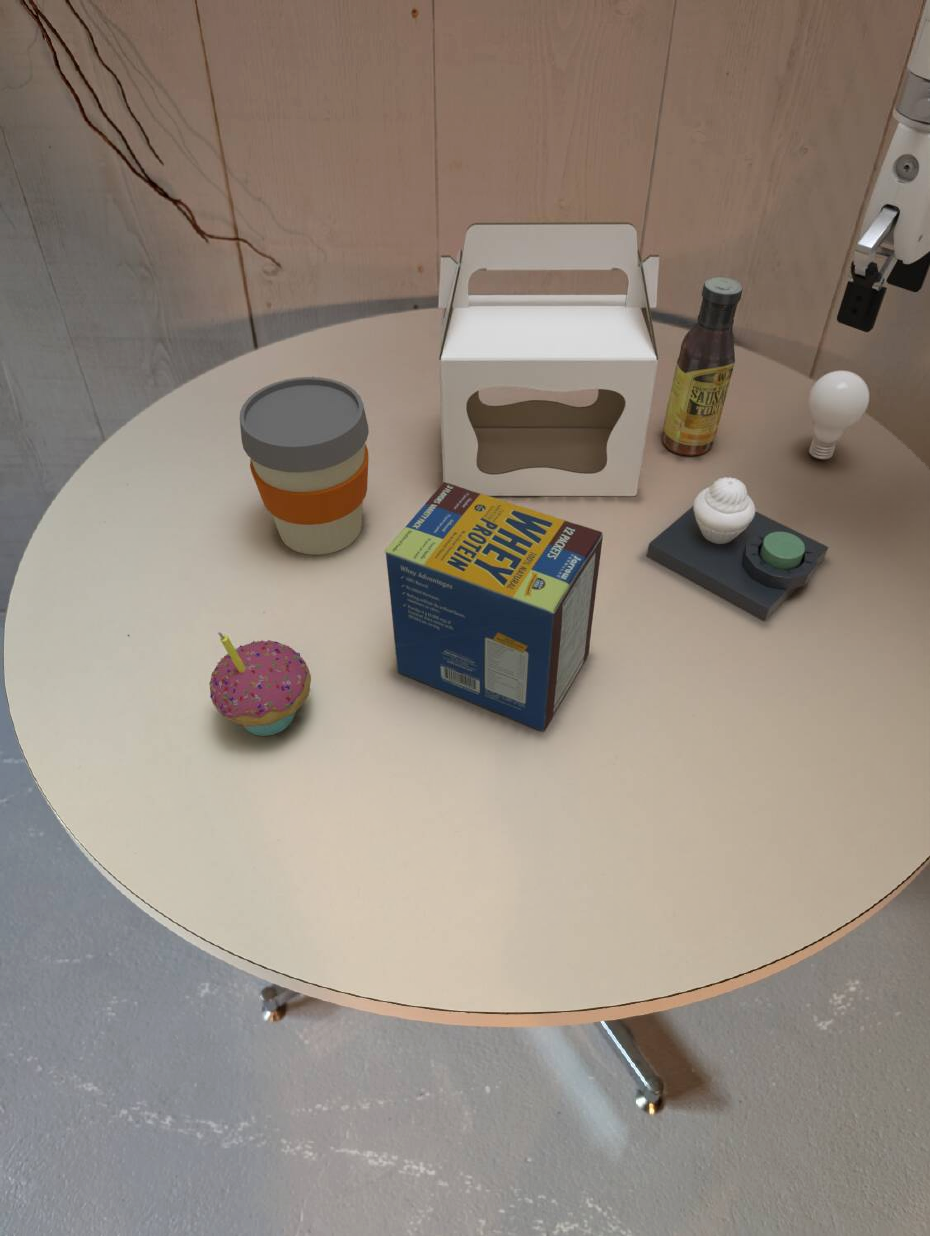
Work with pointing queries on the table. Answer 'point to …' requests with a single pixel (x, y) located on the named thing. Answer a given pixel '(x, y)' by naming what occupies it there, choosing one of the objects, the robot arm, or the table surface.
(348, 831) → the table surface
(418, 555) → the protein box
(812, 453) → the lightbulb
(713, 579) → the scale
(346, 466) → the reusable coffee cup
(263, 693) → the cupcake
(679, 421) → the sauce bottle
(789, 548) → the button
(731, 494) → the muffin
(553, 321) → the gable box
